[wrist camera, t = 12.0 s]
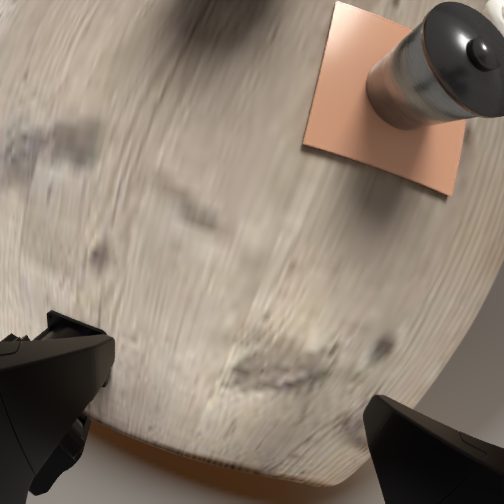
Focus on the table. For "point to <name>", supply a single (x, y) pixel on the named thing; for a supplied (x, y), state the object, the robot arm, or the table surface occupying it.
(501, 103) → the press pot
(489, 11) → the muffin
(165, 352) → the table surface
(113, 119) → the table surface
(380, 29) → the plate
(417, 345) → the table surface
